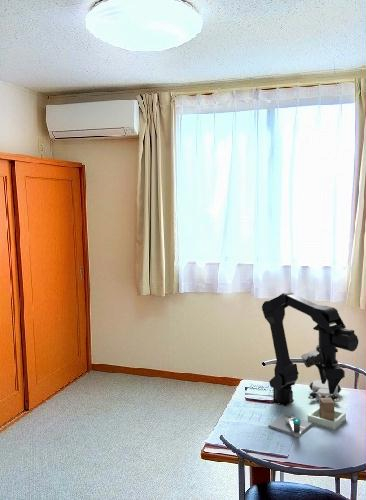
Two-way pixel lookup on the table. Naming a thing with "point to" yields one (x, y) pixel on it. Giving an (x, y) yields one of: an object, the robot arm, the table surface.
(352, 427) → the table surface
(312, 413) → the tray
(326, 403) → the brown block
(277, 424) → the crank base
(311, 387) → the robot toy
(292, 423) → the crank
